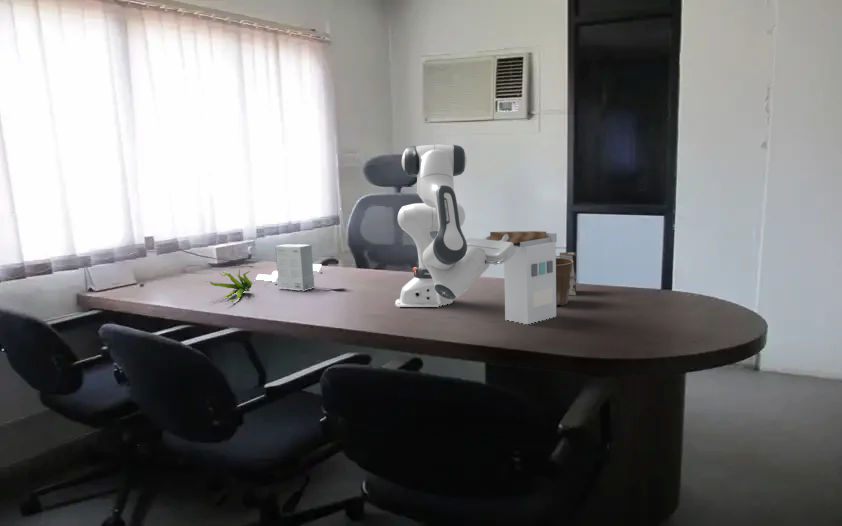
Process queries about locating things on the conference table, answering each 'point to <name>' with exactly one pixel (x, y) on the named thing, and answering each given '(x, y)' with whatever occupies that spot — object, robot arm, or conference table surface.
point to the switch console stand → (531, 281)
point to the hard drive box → (295, 266)
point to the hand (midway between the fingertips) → (500, 235)
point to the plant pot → (562, 280)
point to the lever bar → (518, 236)
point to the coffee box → (573, 273)
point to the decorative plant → (236, 284)
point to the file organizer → (275, 275)
